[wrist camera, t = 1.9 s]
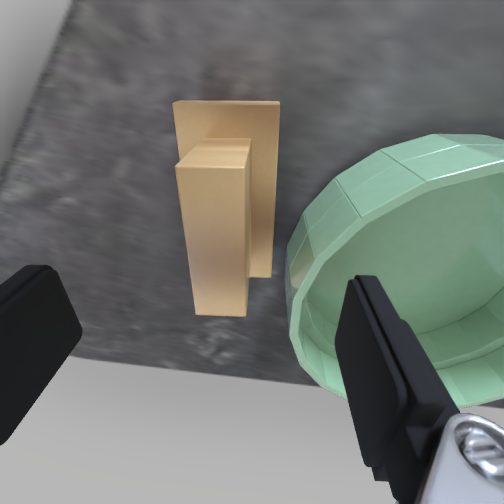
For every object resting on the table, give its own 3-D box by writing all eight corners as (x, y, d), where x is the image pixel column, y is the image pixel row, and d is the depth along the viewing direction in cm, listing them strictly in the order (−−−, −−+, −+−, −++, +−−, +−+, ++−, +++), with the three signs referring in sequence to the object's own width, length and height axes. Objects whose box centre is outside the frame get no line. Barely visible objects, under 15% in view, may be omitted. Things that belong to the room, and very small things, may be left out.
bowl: (295, 130, 16) (308, 156, 11) (614, 134, 15) (791, 164, 10) (278, 337, 25) (281, 405, 20) (476, 345, 24) (532, 417, 19)
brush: (185, 98, 15) (125, 116, 9) (278, 99, 15) (287, 117, 9) (202, 255, 20) (172, 336, 14) (271, 256, 20) (272, 340, 14)
